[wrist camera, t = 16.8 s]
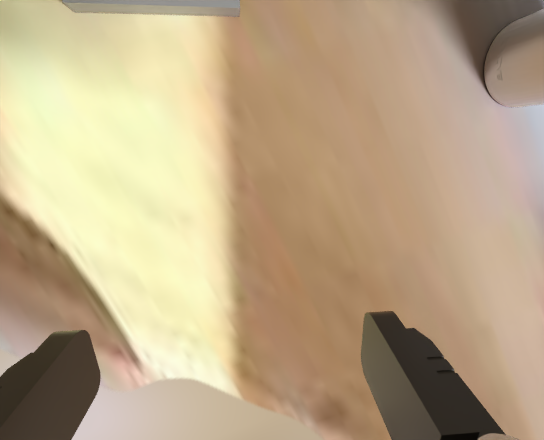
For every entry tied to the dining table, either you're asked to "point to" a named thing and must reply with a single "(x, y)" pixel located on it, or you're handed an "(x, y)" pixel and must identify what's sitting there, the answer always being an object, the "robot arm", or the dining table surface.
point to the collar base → (158, 7)
